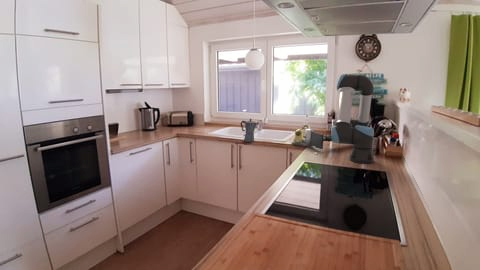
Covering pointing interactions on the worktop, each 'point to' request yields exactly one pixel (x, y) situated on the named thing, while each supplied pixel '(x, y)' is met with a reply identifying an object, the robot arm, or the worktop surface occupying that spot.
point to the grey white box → (314, 139)
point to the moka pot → (249, 130)
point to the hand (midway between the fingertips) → (318, 140)
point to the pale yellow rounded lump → (298, 138)
